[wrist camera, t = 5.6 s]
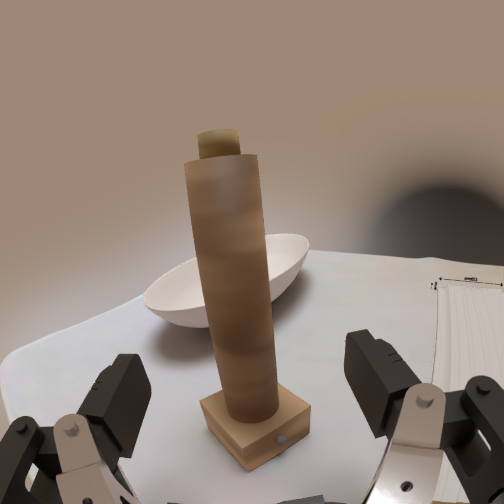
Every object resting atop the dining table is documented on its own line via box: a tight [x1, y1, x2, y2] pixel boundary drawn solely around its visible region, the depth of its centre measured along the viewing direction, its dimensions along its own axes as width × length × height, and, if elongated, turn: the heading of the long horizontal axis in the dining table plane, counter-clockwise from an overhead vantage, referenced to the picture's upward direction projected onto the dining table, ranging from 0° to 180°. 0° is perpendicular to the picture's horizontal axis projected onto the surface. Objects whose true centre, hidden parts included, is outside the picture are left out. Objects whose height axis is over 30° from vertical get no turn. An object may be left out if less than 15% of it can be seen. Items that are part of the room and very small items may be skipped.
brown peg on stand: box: [184, 129, 311, 472], centre depth 14 cm, size 5×5×18 cm
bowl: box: [143, 234, 309, 328], centre depth 37 cm, size 30×15×6 cm, turn 150°
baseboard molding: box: [431, 277, 504, 504], centre depth 17 cm, size 31×3×12 cm
